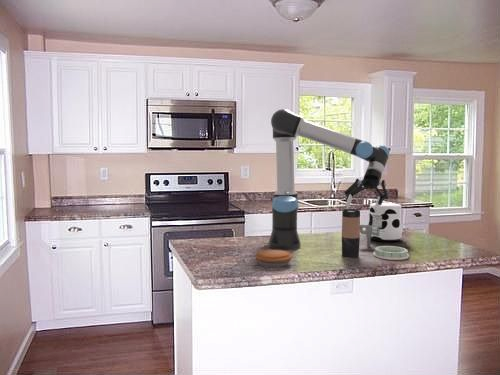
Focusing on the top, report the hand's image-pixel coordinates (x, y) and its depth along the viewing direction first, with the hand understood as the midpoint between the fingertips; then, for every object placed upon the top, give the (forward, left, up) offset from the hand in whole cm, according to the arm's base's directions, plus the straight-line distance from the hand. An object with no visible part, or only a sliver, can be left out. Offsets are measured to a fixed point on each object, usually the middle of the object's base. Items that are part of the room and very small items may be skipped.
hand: (360, 208), depth 208 cm
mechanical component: (+7, +10, -20) cm, 23 cm away
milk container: (+19, +25, -20) cm, 37 cm away
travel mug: (-6, -9, -20) cm, 22 cm away
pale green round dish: (+12, -8, -20) cm, 24 cm away
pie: (-40, -21, -20) cm, 49 cm away
